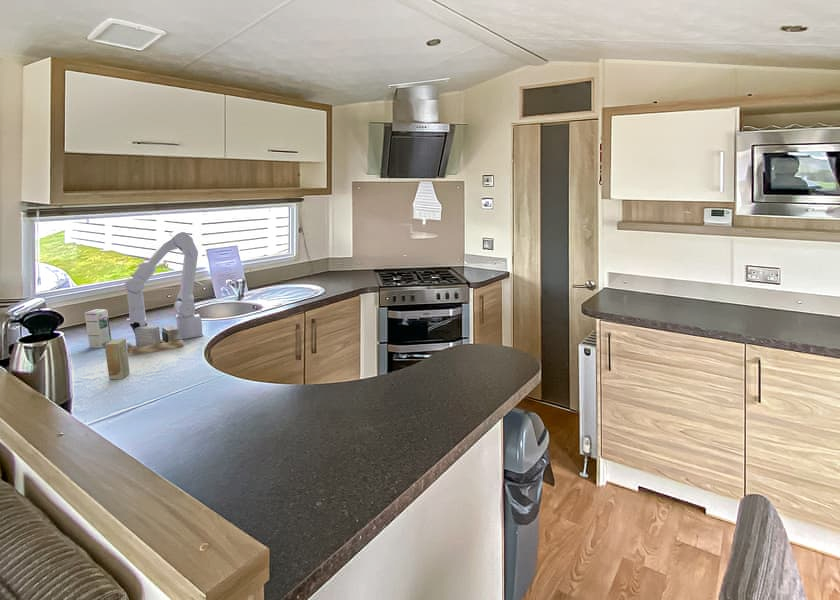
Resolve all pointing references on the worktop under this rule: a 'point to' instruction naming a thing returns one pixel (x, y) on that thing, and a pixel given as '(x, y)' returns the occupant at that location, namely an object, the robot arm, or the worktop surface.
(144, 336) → the medicine box
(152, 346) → the wooden rack
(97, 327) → the syrup box
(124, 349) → the skincare box
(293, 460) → the worktop surface
